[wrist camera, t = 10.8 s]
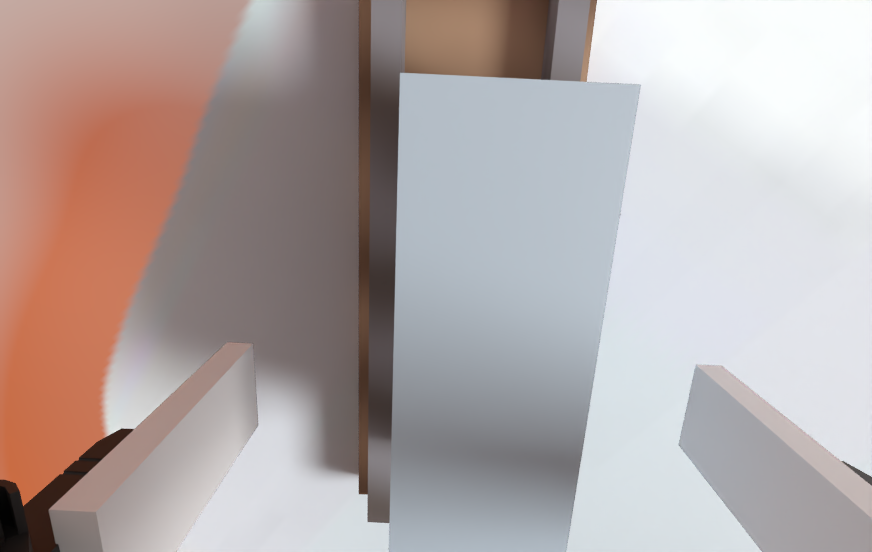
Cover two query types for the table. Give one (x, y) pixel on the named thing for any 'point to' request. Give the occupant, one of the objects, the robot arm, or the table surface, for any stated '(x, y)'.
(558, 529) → the sliding panel
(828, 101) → the table surface
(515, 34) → the floor track
